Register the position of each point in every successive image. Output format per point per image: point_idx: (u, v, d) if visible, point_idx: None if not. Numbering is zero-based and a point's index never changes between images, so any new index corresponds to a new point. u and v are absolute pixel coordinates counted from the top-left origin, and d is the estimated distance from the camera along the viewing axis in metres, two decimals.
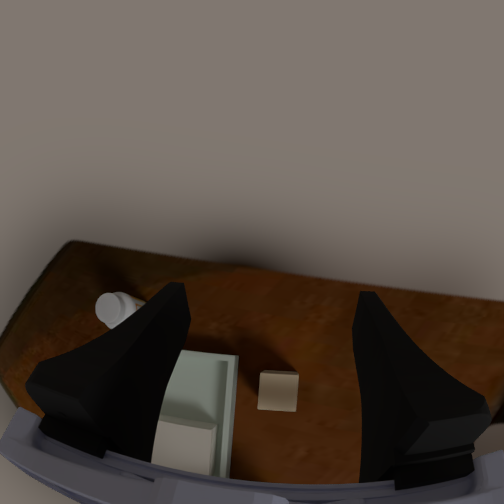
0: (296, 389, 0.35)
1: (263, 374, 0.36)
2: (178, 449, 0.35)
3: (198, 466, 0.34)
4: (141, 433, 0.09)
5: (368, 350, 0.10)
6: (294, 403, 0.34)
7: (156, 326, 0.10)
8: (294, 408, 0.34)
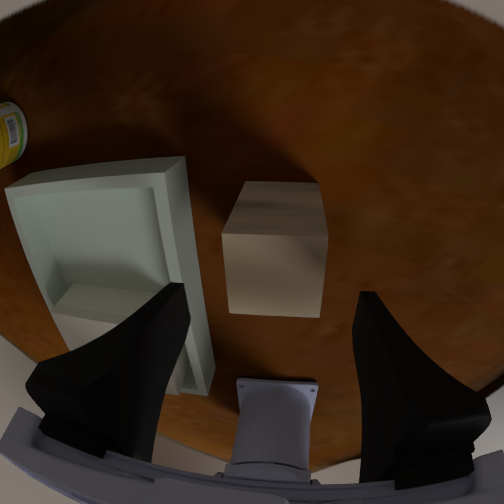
0: (321, 272, 0.14)
1: (230, 237, 0.14)
2: None
3: None
4: (141, 433, 0.09)
5: (368, 350, 0.10)
6: (316, 302, 0.15)
7: (156, 326, 0.10)
8: (316, 311, 0.15)
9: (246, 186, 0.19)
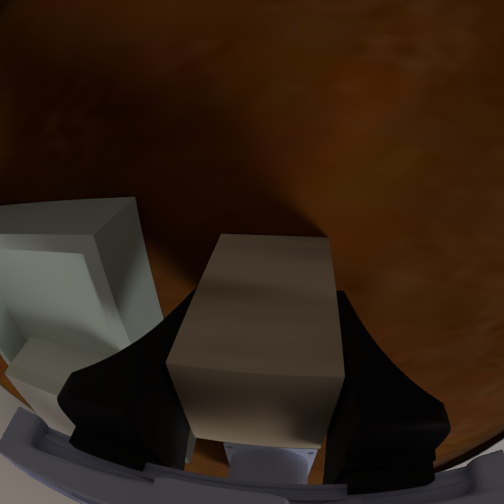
0: (329, 412, 0.08)
1: (180, 368, 0.08)
2: None
3: None
4: (176, 441, 0.09)
5: None
6: (317, 437, 0.09)
7: None
8: (317, 444, 0.09)
9: (220, 245, 0.13)
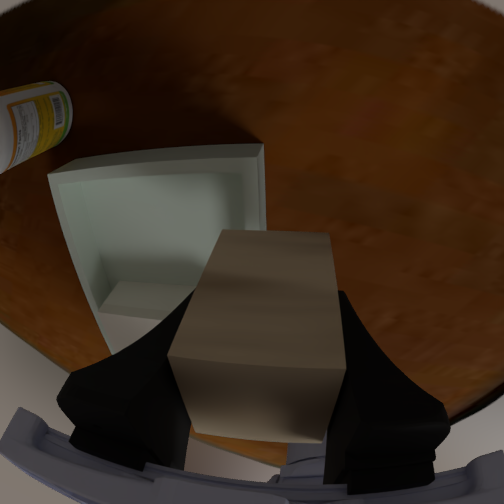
0: (330, 405, 0.08)
1: (181, 361, 0.08)
2: None
3: None
4: (176, 441, 0.09)
5: None
6: (319, 431, 0.09)
7: None
8: (318, 439, 0.09)
9: (221, 240, 0.13)
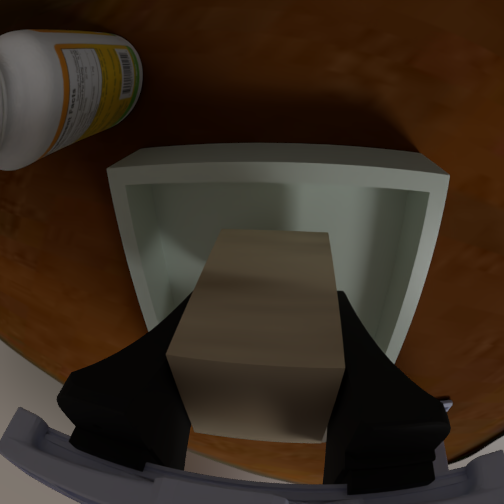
0: (329, 405, 0.08)
1: (180, 360, 0.08)
2: None
3: None
4: (176, 441, 0.09)
5: None
6: (318, 431, 0.09)
7: None
8: (317, 439, 0.09)
9: (221, 240, 0.13)
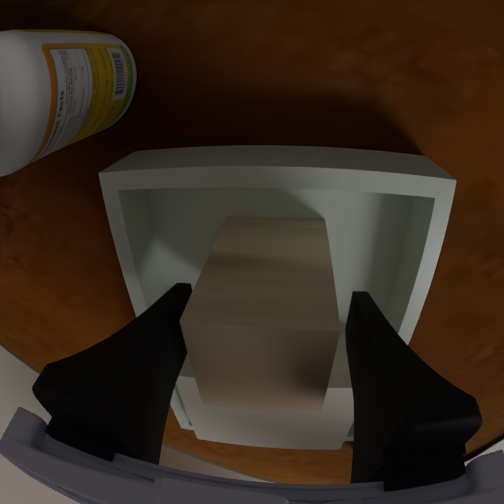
0: (327, 370, 0.09)
1: (192, 326, 0.09)
2: (281, 420, 0.17)
3: (324, 436, 0.17)
4: (149, 435, 0.09)
5: (360, 350, 0.10)
6: (318, 399, 0.10)
7: (164, 327, 0.10)
8: (317, 408, 0.10)
9: (226, 226, 0.14)
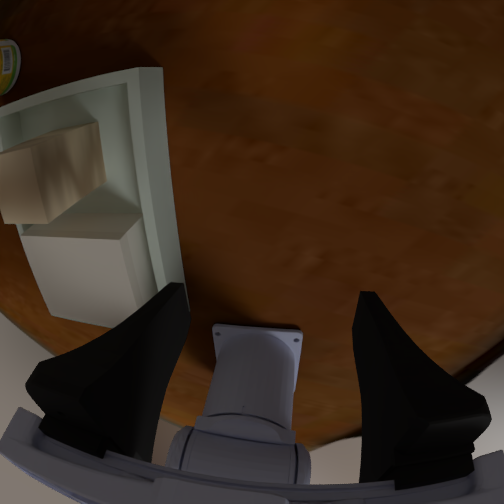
0: (35, 178, 0.14)
1: None
2: (83, 281, 0.21)
3: (121, 307, 0.22)
4: (141, 433, 0.09)
5: (368, 350, 0.10)
6: (41, 207, 0.15)
7: (156, 326, 0.10)
8: (44, 217, 0.15)
9: (47, 132, 0.18)
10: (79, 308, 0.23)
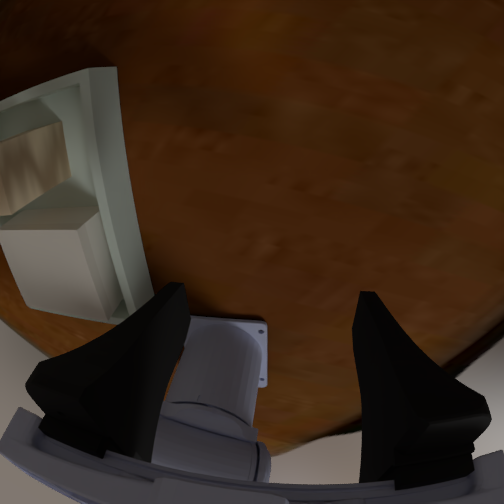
0: None
1: None
2: (50, 272, 0.21)
3: (84, 296, 0.22)
4: (141, 433, 0.09)
5: (368, 350, 0.10)
6: (5, 200, 0.15)
7: (156, 326, 0.10)
8: (8, 209, 0.15)
9: None
10: (50, 298, 0.23)
